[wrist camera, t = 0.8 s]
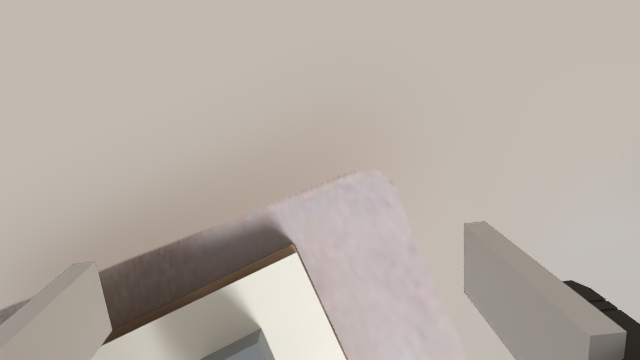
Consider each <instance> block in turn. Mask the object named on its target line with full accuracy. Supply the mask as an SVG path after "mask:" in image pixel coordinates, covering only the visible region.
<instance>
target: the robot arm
mask: <svg viewBox="0 0 640 360" xmlns="http://www.w3.org/2000/svg"><path fill="white" fill-rule="evenodd" d="M464 293H465V294H466V295H467V297H468V298H469V299H470V300H471V302H472V303H473V304H474V306H475V307H476V308H477V310H478V311H479V312H480V314H481V315H482V316H483V317H484V319H485V320H486V321H487V323H488V324H489V325H490V327H491V328H492V329H493V330H494V332H495V333H496V334H497V336H498V337H499V338H500V339H501V341H502V342H503V344H504V345H505V346H506V347H507V349H508V350H509V351H510V353H511V354H512V355H513V356H514V358H515V359H516V360H640V324H639V323H637V322H636V321H635V320H633V319H632V318H630V317H629V316H628V315H627V314H625V313H624V312H622V311H621V310H618V309H617V307H615V306H614V305H613V304H611V303H610V302H609V301H606V300H605V298H603V297H602V296H600V295H599V294H597V293H596V292H595V291H594V290H592V289H591V288H588V287H586V286H584V285H581V284H579V283H576V282H574V281H572V280H571V281H561V280H560V279H558V278H557V277H556V276H554V275H553V274H552V273H551V272H549V271H548V270H547V269H545V268H544V267H543V266H542V265H540V264H539V263H538V262H537V261H535V260H534V259H533V258H531V257H530V256H529V255H527V254H526V253H525V252H524V251H522V250H521V249H520V248H518V247H517V246H516V245H515V244H513V243H512V242H511V241H509V240H508V239H507V238H506V237H504V236H503V235H502V234H501V233H499V232H498V231H497V230H495V229H494V228H493V227H492V226H490V225H489V224H488V223H486V222H485V221H483V222H474V223H464ZM111 331H112V327H111V323H110V319H109V315H108V311H107V307H106V302H105V298H104V294H103V290H102V286H101V282H100V278H99V274H98V270H97V266H96V262H87V263H79V264H78V263H77V264H73V265H72V266H70V267H69V268H68V269H67V270H66V271H64V272H63V273H62V274H61V275H60V276H59V277H57V278H56V279H55V280H54V281H52V282H51V283H50V284H49V285H48V286H46V287H45V288H44V289H43V290H42V291H41V292H39V293H38V294H37V295H36V296H35V297H33V298H32V299H31V300H30V301H29V302H27V303H26V304H25V305H24V306H23V307H21V308H20V309H19V310H18V311H17V312H15V313H14V314H13V315H12V316H11V317H9V318H8V319H7V320H6V321H5V322H3V323H2V324H1V325H0V360H91V359H92V357H93V356H94V355H95V353H96V352H97V351H98V349H99V348H100V347H101V345H102V344H103V342H104V341H105V340H106V338H107V337H108V336H109V334H110V333H111Z"/></svg>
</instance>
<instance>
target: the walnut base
mask: <svg viewBox="0 0 640 360" xmlns="http://www.w3.org/2000/svg"><path fill="white" fill-rule="evenodd" d="M296 252H297V254H298V256H299V258H300V261H301V263H302V265H303V267H304V269H305V271H306V274H307V276H308V278H309V280H310V282H311V284H312V287H313V289H314V291H315V293H316V295H317V297H318V300H319V302H320V304H321V306H322V308H323V311H324V313H325V315H326V317H327V319H328V321H329V324H330V326H331V328H332V330H333V332H334V334H335V337H336V339H337V341H338V343H339V345H340V347H341V350H342V352H343V354H344V356H345V358H346V360H348V359H347V356H346V354H345V352H344V350H343V348H342V346H341V343H340V341H339V339H338V337H337V335H336V333H335V330H334V328H333V326H332V324H331V322H330V320H329V317H328V315H327V313H326V311H325V309H324V307H323V304H322V302H321V300H320V298H319V296H318V294H317V291H316V289H315V287H314V285H313V283H312V281H311V278H310V276H309V274H308V272H307V270H306V268H305V265H304V263H303V261H302V259H301V257H300V255H299V252H298V250H297V248H296V246H295V244H291V245H289V246H287V247H285V248H283V249H281V250H279V251H277V252H274V253H272V254H270V255H268V256H266V257H264V258H262V259H260V260H258V261H256V262H254V263H252V264H250V265H247V266H245V267H243V268H241V269H239V270H237V271H235V272H233V273H231V274H229V275H227V276H225V277H223V278H220V279H218V280H216V281H214V282H212V283H210V284H208V285H206V286H204V287H202V288H200V289H198V290H196V291H193V292H191V293H189V294H187V295H185V296H183V297H181V298H179V299H177V300H175V301H173V302H171V303H169V304H166V305H164V306H162V307H160V308H158V309H156V310H154V311H152V312H150V313H148V314H146V315H144V316H142V317H139V318H137V319H135V320H133V321H131V322H129V323H127V324H125V325H123V326H121V327H119V328H117V329H114V330H112V331H111V333H110V334H109V336H108V337H107V338H106V340H105V341H104V342H103V344H102V345H104V344H107V343H109V342H111V341H113V340H115V339H117V338H119V337H121V336H123V335H125V334H127V333H130V332H132V331H134V330H136V329H138V328H140V327H142V326H144V325H146V324H148V323H150V322H152V321H155V320H157V319H159V318H161V317H163V316H165V315H167V314H169V313H171V312H173V311H175V310H177V309H180V308H182V307H184V306H186V305H188V304H190V303H192V302H194V301H196V300H198V299H200V298H203V297H205V296H207V295H209V294H211V293H213V292H215V291H217V290H219V289H221V288H223V287H225V286H228V285H230V284H232V283H234V282H236V281H238V280H240V279H242V278H244V277H246V276H248V275H250V274H253V273H255V272H257V271H259V270H261V269H263V268H265V267H267V266H269V265H271V264H273V263H276V262H278V261H280V260H282V259H284V258H286V257H288V256H290V255H292V254H294V253H296ZM102 345H101V346H102Z"/></svg>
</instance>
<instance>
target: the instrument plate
mask: <svg viewBox="0 0 640 360" xmlns="http://www.w3.org/2000/svg"><path fill="white" fill-rule="evenodd" d="M91 360H346V358H345V356H344V354H343V352H342V350H341V347H340V345H339V343H338V341H337V339H336V337H335V334H334V332H333V330H332V328H331V326H330V324H329V321H328V319H327V317H326V315H325V313H324V311H323V308H322V306H321V304H320V302H319V300H318V297H317V295H316V293H315V291H314V289H313V287H312V284H311V282H310V280H309V278H308V276H307V274H306V271H305V269H304V267H303V265H302V263H301V261H300V258H299V256H298V254H297V252H296V253H294V254H292V255H290V256H288V257H286V258H284V259H282V260H280V261H278V262H276V263H273V264H271V265H269V266H267V267H265V268H263V269H261V270H259V271H257V272H255V273H253V274H250V275H248V276H246V277H244V278H242V279H240V280H238V281H236V282H234V283H232V284H230V285H228V286H225V287H223V288H221V289H219V290H217V291H215V292H213V293H211V294H209V295H207V296H205V297H203V298H200V299H198V300H196V301H194V302H192V303H190V304H188V305H186V306H184V307H182V308H180V309H177V310H175V311H173V312H171V313H169V314H167V315H165V316H163V317H161V318H159V319H157V320H155V321H152V322H150V323H148V324H146V325H144V326H142V327H140V328H138V329H136V330H134V331H132V332H130V333H127V334H125V335H123V336H121V337H119V338H117V339H115V340H113V341H111V342H109V343H107V344H104V345H102V346H101V347H100V348H99V349H98V351H97V352H96V353H95V355H94V356H93V357H92V359H91Z"/></svg>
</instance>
